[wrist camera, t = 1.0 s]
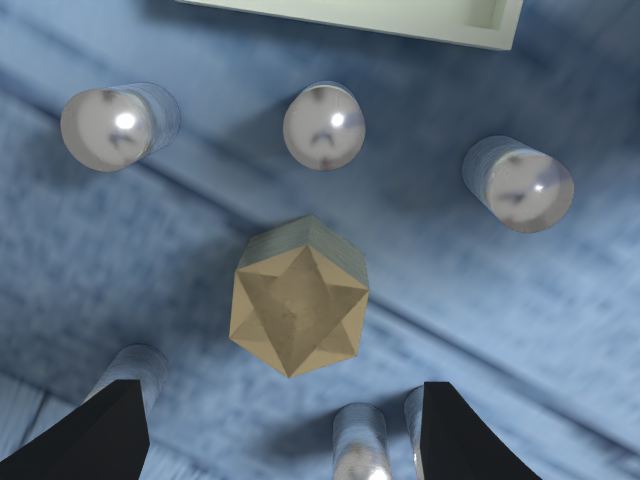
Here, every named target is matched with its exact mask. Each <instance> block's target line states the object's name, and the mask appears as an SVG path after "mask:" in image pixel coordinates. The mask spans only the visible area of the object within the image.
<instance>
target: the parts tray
mask: <svg viewBox="0 0 640 480" xmlns="http://www.w3.org/2000/svg"><path fill="white" fill-rule="evenodd" d="M175 1H178V2H181V3H188V4H194V5H201V6H207V7H214V8H220V9H227V10H233V11H240V12H247V13H253V14H260V15H266V16H273V17H279V18H286V19H292V20H299V21H306V22H312V23H319V24H325V25H332V26H338V27H345V28H351V29H358V30H364V31H371V32H378V33H384V34H391V35H397V36H404V37H410V38H417V39H423V40H430V41H436V42H443V43H450V44H456V45H463V46H469V47H476V48H482V49H489V50H495V51H498V50H511V47H512V43H513V39H514V35H515V31H516V27H517V23H518V19H519V15H520V11H521V8H522V4H523V0H175Z"/></svg>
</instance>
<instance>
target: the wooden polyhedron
mask: <svg viewBox="0 0 640 480" xmlns="http://www.w3.org/2000/svg"><path fill="white" fill-rule="evenodd" d="M369 290H370V289H369V282H368V275H367V268H366V261H365V254H364V253H363V252H362V251H360V250H359V249H358V248H356V247H355V246H354V245H352V244H351V243H350V242H348V241H347V240H346V239H344V238H343V237H342V236H340V235H339V234H338V233H337V232H335V231H334V230H333V229H331V228H330V227H329V226H327V225H326V224H325V223H323V222H322V221H321V220H319V219H318V218H317V217H315V216H314V215H313V214H311V215H308V216H306V217H303V218H300V219H298V220H295V221H292V222H290V223H287V224H285V225H282V226H279V227H277V228H274V229H271V230H269V231H266V232H263V233H261V234H258V235H255V236H253V237H251V238H250V240H249V242H248V244H247V246H246V248H245V251H244V253H243V255H242V257H241V259H240V261H239V264H238V266H237V268H236V270H235V279H234V290H233V300H232V311H231V322H230V333H229V339H231V340H232V341H234V342H235V343H237V344H238V345H240V346H241V347H243V348H244V349H246V350H247V351H249V352H250V353H252V354H253V355H255V356H256V357H258V358H259V359H261V360H262V361H264V362H265V363H267V364H268V365H270V366H271V367H273V368H274V369H276V370H277V371H279V372H280V373H282V374H283V375H284V376H286V377H287V378H291V377H294V376H297V375H300V374H303V373H306V372H309V371H312V370H315V369H318V368H321V367H325V366H328V365H331V364H334V363H337V362H340V361H343V360H346V359H349V358H352V357H355V356H357V352H358V346H359V341H360V336H361V331H362V326H363V321H364V316H365V310H366V305H367V300H368V295H369Z"/></svg>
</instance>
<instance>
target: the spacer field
mask: <svg viewBox="0 0 640 480" xmlns="http://www.w3.org/2000/svg"><path fill="white" fill-rule="evenodd" d="M60 127H61V134H62V138H63V140H64V143H65V145H66V147H67V148H68V150H69V152H70V153H71V154H72V155H73V156H74V157H75V158H76V159H77V160H78V161H79V162H80V163H82V164H83V165H85V166H86V167H89V168H91V169H93V170H96V171H101V172H113V171H117V170H120V169H123V168H125V167H127V166H128V165H130V164H132V163H134V162H136V161H138V160H140V159H141V158H143V157H145V156H147V155H149V154H151V153H153V152H154V151H156V150H158V149H160V148H162V147H164V146H166V145H167V144H169V143H170V142H171V141H172V140H173V139H174V138H175V137H176V135H177V133H178V131H179V127H180V112H179V108H178V106H177V103H176V102H175V100H174V98H173V97H172V96H171V95H170V94H169V93H168V92H167V91H166V90H165V89H163V88H162V87H160V86H158V85H156V84H153V83H147V82H141V83H134V84H127V85H120V86H113V87H106V88H99V89H92V90H87V91H83V92H80V93H78V94H77V95H75V96H74V97H72V98H71V99H70V100H69V101H68V103H67V104H66V106H65V107H64V109H63V112H62V115H61V123H60ZM283 136H284V140H285V143H286V146H287V148H288V150H289V152H290V153H291V154H292V156H293V157H294V158H295V159H296V160H297V161H298V162H300V163H301V164H302V165H304V166H306V167H308V168H311V169H314V170H319V171H329V170H334V169H338V168H340V167H342V166H344V165H346V164H347V163H349V162H350V161H351V160H352V159H353V158H354V157H355V156H356V155H357V154H358V152H359V151H360V149H361V147H362V144H363V142H364V138H365V120H364V117H363V114H362V111H361V109H360V107H359V105H358V103H357V101H356V98H355V97H354V95H353V94H352V92H351V91H350V90H349V89H348V88H347V87H345V86H344V85H342V84H340V83H338V82H335V81H328V80H325V81H318V82H315V83H313V84H311V85H309V86H308V87H306V88H305V89H304V90H303V91H302V92H301V93H300V94H299V95H298V97H297V98H296V99H295V100H294V101H293V102H292V103H291V105H290V106H289V108H288V110H287V112H286V115H285V118H284V122H283ZM462 176H463V180H464V183H465V184H466V186H467V187H468V189H469V190H470V191H471V192H472V193H473V194H474V195H475V196H476V197H477V198H478V199H479V200H480V201H481V202H482V203H483V204H484V205H485V206H486V207H487V208H488V209H489V210H490V211H491V212H492V213H493V214H494V215H495V216H496V217H497V218H498V219H499V220H500V221H501V222H502V223H503V224H504V225H505V226H507V227H508V228H510V229H512V230H515V231H517V232H522V233H534V232H539V231H542V230H545V229H547V228H549V227H551V226H553V225H554V224H556V223H557V222H558V221H559V220H560V219H561V218H562V217H563V216H564V215H565V214H566V212H567V211H568V209H569V208H570V206H571V203H572V200H573V196H574V182H573V178H572V176H571V174H570V172H569V170H568V169H567V167H566V166H565V165H564V164H562V163H561V162H560V161H558V160H556V159H554V158H552V157H550V156H548V155H546V154H544V153H542V152H540V151H537V150H535V149H533V148H531V147H529V146H527V145H525V144H523V143H521V142H519V141H516V140H514V139H512V138H510V137H507V136H503V135H493V136H488V137H485V138H483V139H481V140H479V141H478V142H476V143H475V144H474V145H473V146H472V147H471V148H470V149H469V150H468V152H467V153H466V155H465V157H464V160H463V164H462ZM168 375H169V366H168V363H167V361H166V359H165V357H164V356H163V355H162V354H161V353H160V352H159V351H158V350H156V349H155V348H153V347H151V346H148V345H144V344H133V345H129V346H127V347H125V348H123V349H122V350H121V351H120V352H119V353H118V354H117V356H116V357H115V359H114V360H113V361H112V363H111V364H110V365H109V367H108V368H107V370H106V371H105V372H104V374H103V375H102V376H101V378H100V379H99V381H98V382H97V383H96V385H95V386H94V387H93V389H92V390H91V392H90V393H89V394H88V396H87V397H86V398H85V400H84V401H83V403H85V402H86V401H87V400H88V399H90V398H91V397H92V396H94V395H95V394H96V393H98V392H99V391H100V390H102V389H103V388H105V387H106V386H107V385H109V384H110V383H112V382H113V381H115V380H116V379H140V383H141V390H142V396H143V403H144V409H145V416H146V418H147V416H148V414H149V412H150V411H151V409H152V407H153V405H154V403H155V401H156V399H157V397H158V395H159V393H160V391H161V389H162V387H163V385H164V384H165V382H166V380H167V378H168ZM423 393H424V386H421V387H419V388H417V389H415V390H413V391H412V392H411V393H410V394H409V395H408V397H407V398H406V400H405V403H404V412H405V417H406V422H407V428H408V433H409V438H410V443H411V448H412V453H413V459H414V464H415V469H416V474H417V479H418V480H424V474H423V467H422V461H421V454H420V435H421V421H422V407H423ZM83 403H82V404H83ZM82 404H81V405H82ZM81 405H80V406H81ZM333 480H393V474H392V467H391V460H390V452H389V445H388V438H387V430H386V423H385V419H384V416H383V414H382V413H381V412H380V411H379V410H378V409H377V408H375V407H373V406H371V405H368V404H364V403H355V404H350V405H347V406H345V407H343V408H342V409H341V410H340V411H339V412H338V413H337V414H336V416H335V418H334V421H333Z"/></svg>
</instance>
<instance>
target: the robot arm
mask: <svg viewBox="0 0 640 480" xmlns="http://www.w3.org/2000/svg"><path fill="white" fill-rule="evenodd" d="M149 446H150V441H149V435H148V429H147V422H146V416H145V409H144V403H143V396H142V390H141V383H140V379H116V380H115V381H113V382H112V383H110V384H109V385H107V386H106V387H105V388H103V389H102V390H100V391H99V392H98V393H96V394H95V395H94V396H92V397H91V398H90V399H88V400H87V401H86V402H85V403H83V404H82V405H81V406H79V407H78V408H77V409H75V410H74V411H73V412H71V413H70V414H69V415H67V416H66V417H64V418H63V419H62V420H60V421H59V422H58V423H56V424H55V425H54V426H52V427H51V428H50V429H48V430H47V431H45V432H44V433H42V434H41V435H40V436H38V437H37V438H35V439H34V440H32V441H31V442H29V443H28V444H26V445H25V446H23V447H22V448H21V449H19V450H18V451H16V452H15V453H13V454H12V455H10V456H9V457H7V458H6V459H4V460H3V461H1V462H0V480H138V479H139V477H140V474H141V471H142V468H143V465H144V462H145V458H146V455H147V452H148V449H149ZM420 454H421V461H422V467H423V474H424V480H542V479H541V478H540V477H539V476H538V475H536V474H535V473H534V472H533V471H532V470H531V469H530V468H528V467H527V466H526V465H525V464H524V463H523V462H522V461H521V460H520V459H519V458H518V457H517V456H516V455H515V454H514V453H513V452H512V451H511V450H510V449H509V448H508V447H507V446H506V445H505V444H504V443H503V442H502V441H501V440H500V439H499V438H498V437H497V436H496V435H495V434H494V433H493V432H492V431H491V430H490V428H489V427H488V426H487V425H486V424H485V423H484V422H483V421H482V420H481V419H480V417H479V416H478V415H477V414H476V413H475V412H474V411H473V409H472V408H471V407H470V406H469V405H468V404H467V402H466V401H465V400H464V399H463V398H462V396H461V395H460V394H459V393H458V392H457V390H456V389H455V388H454V387H453V386H452V385H451V384H450V383H449V382H424V393H423V407H422V421H421V435H420Z"/></svg>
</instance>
